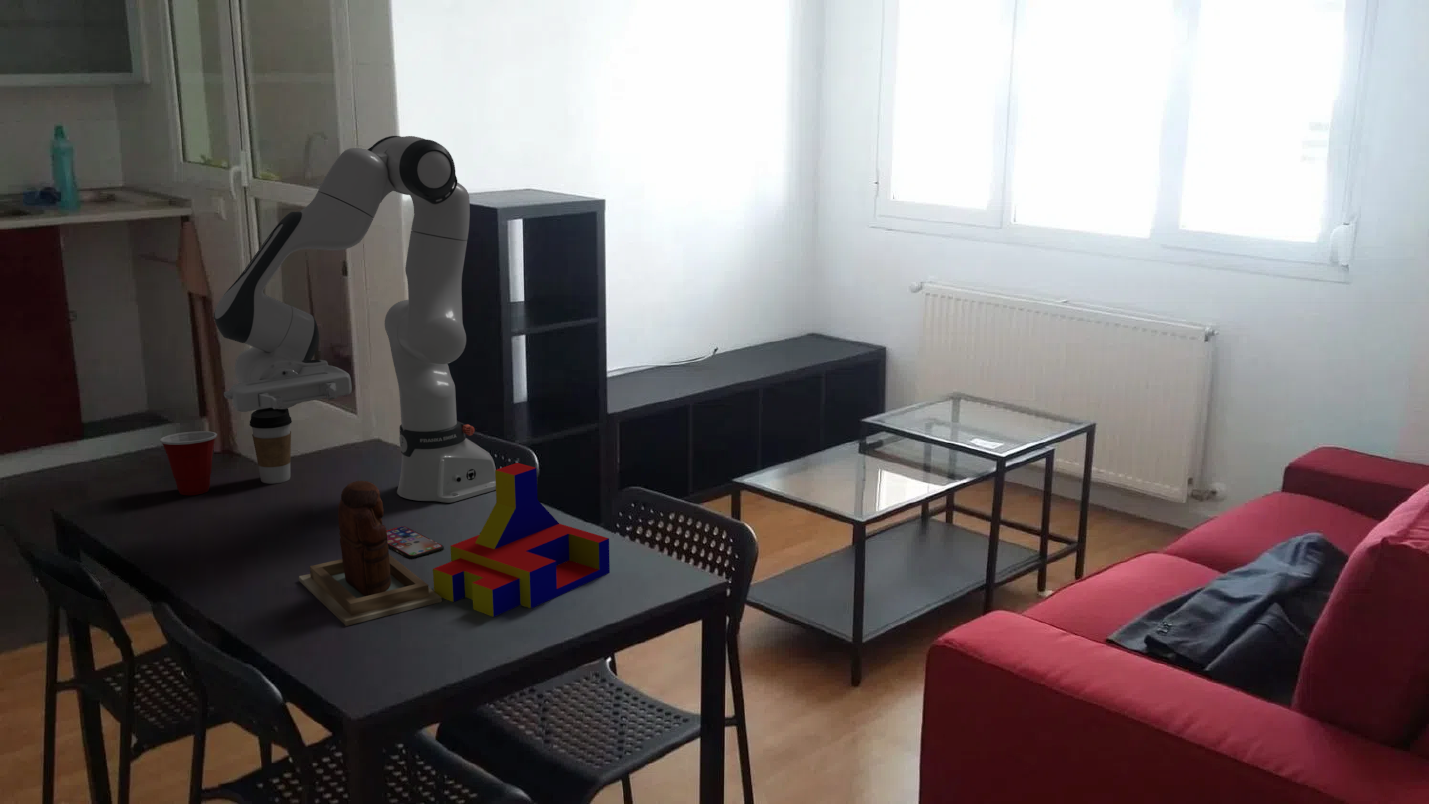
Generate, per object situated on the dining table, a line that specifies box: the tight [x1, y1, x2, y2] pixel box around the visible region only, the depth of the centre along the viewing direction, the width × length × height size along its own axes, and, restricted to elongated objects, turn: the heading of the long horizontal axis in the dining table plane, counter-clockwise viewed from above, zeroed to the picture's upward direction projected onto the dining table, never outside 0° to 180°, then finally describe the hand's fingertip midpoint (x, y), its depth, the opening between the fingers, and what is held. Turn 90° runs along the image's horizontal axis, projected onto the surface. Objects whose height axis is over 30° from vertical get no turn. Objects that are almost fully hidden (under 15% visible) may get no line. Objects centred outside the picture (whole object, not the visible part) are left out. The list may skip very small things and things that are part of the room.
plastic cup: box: [159, 430, 218, 496], centre depth 255 cm, size 11×11×12 cm
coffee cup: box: [249, 407, 293, 485], centre depth 263 cm, size 8×8×15 cm
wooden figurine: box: [337, 480, 391, 596], centre depth 206 cm, size 12×6×18 cm, turn 38°
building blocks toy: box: [432, 462, 611, 618], centre depth 210 cm, size 19×25×18 cm
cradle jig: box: [298, 554, 442, 627], centre depth 208 cm, size 16×22×3 cm
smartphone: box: [386, 525, 445, 560], centre depth 229 cm, size 7×1×15 cm
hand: (306, 399), depth 214 cm, fingers open, 8 cm apart
